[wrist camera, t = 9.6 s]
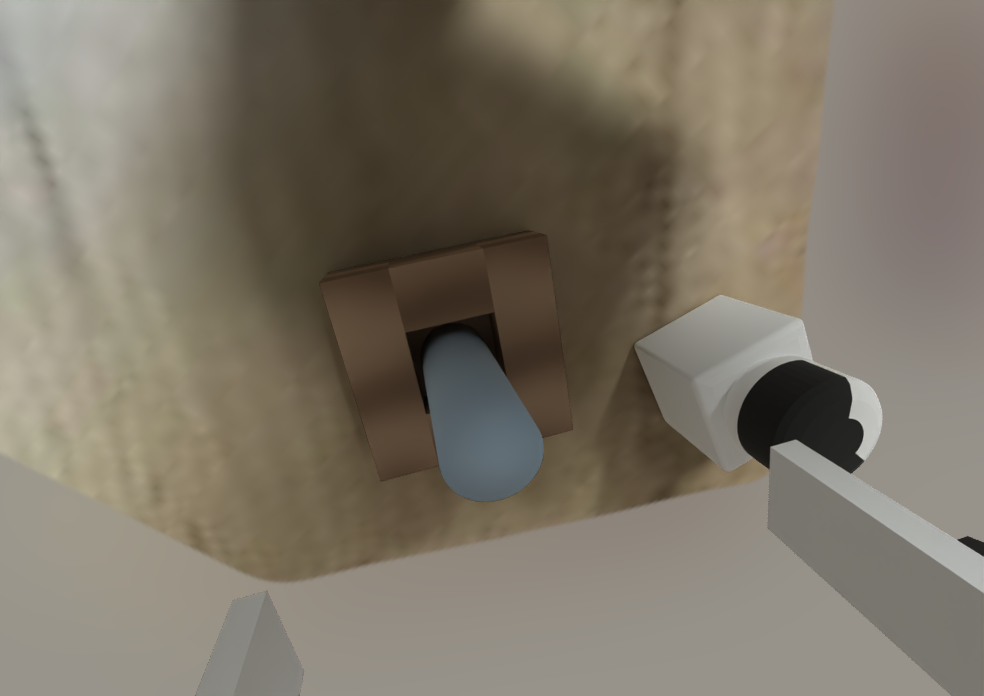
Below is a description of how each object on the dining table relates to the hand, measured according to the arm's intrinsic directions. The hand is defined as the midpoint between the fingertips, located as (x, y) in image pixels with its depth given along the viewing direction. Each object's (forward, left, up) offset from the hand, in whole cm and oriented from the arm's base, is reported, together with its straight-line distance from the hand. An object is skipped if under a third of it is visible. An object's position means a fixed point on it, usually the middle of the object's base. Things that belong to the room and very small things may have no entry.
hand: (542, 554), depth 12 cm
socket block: (0, 0, -19) cm, 19 cm away
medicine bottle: (+5, +16, -19) cm, 26 cm away
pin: (0, 0, -18) cm, 18 cm away
